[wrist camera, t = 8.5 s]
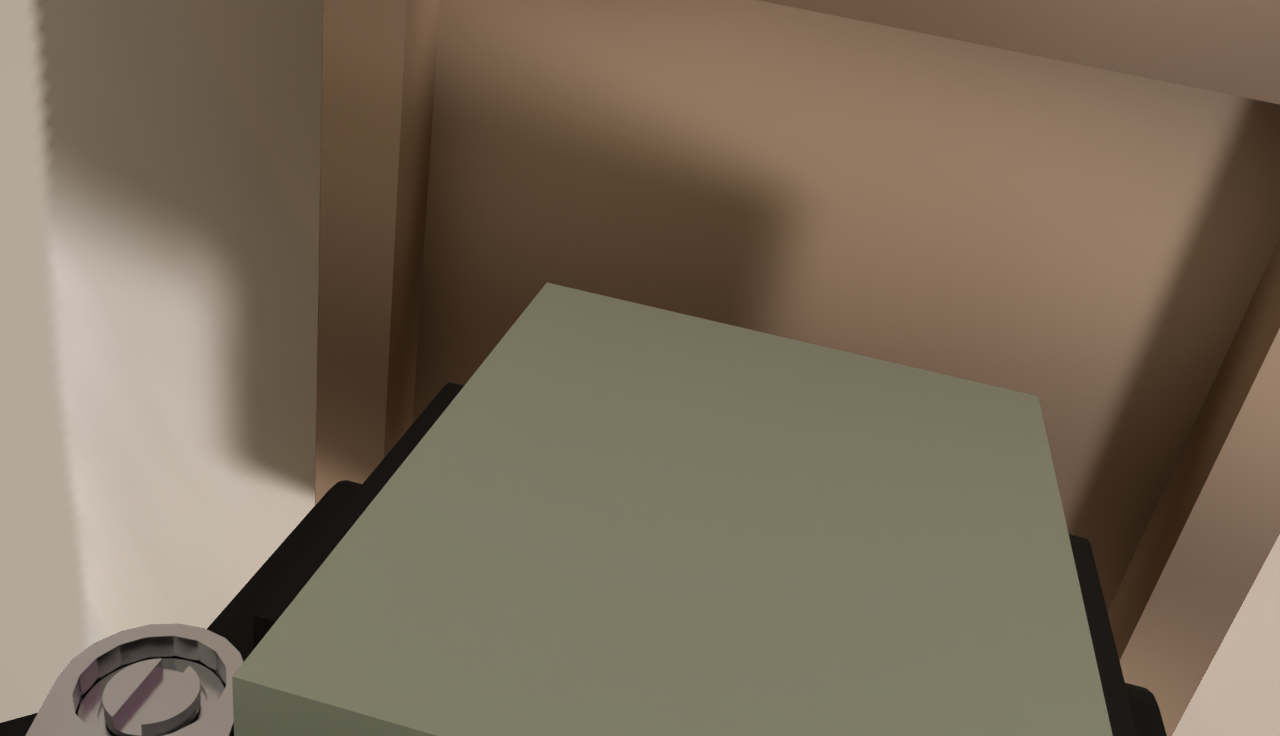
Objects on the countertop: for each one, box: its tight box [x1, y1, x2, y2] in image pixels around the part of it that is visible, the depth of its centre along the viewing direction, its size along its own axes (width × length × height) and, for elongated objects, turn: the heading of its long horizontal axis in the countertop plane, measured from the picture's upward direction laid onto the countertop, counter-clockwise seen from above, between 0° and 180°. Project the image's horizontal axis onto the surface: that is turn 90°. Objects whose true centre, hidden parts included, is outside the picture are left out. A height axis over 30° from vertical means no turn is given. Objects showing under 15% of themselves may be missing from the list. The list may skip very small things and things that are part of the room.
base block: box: [315, 0, 1280, 736], centre depth 15 cm, size 12×12×4 cm
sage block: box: [232, 283, 1113, 736], centre depth 10 cm, size 5×5×6 cm
